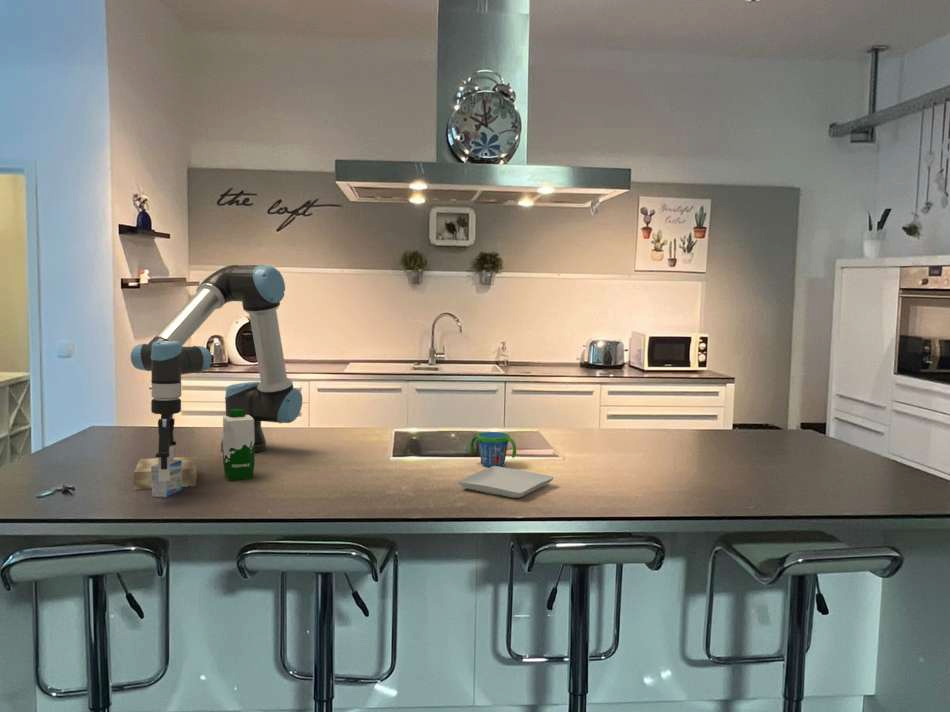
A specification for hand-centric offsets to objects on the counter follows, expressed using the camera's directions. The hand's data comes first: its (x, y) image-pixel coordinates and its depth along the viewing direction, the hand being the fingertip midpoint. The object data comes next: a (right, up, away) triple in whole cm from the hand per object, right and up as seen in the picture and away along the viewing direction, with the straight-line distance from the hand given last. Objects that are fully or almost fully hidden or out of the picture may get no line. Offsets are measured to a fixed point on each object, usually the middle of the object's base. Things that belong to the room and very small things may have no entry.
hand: (166, 475), depth 213 cm
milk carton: (+14, -4, +20) cm, 25 cm away
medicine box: (0, -5, +1) cm, 5 cm away
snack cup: (+90, -3, +41) cm, 99 cm away
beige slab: (-5, -4, +14) cm, 15 cm away
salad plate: (+93, -6, +14) cm, 95 cm away
